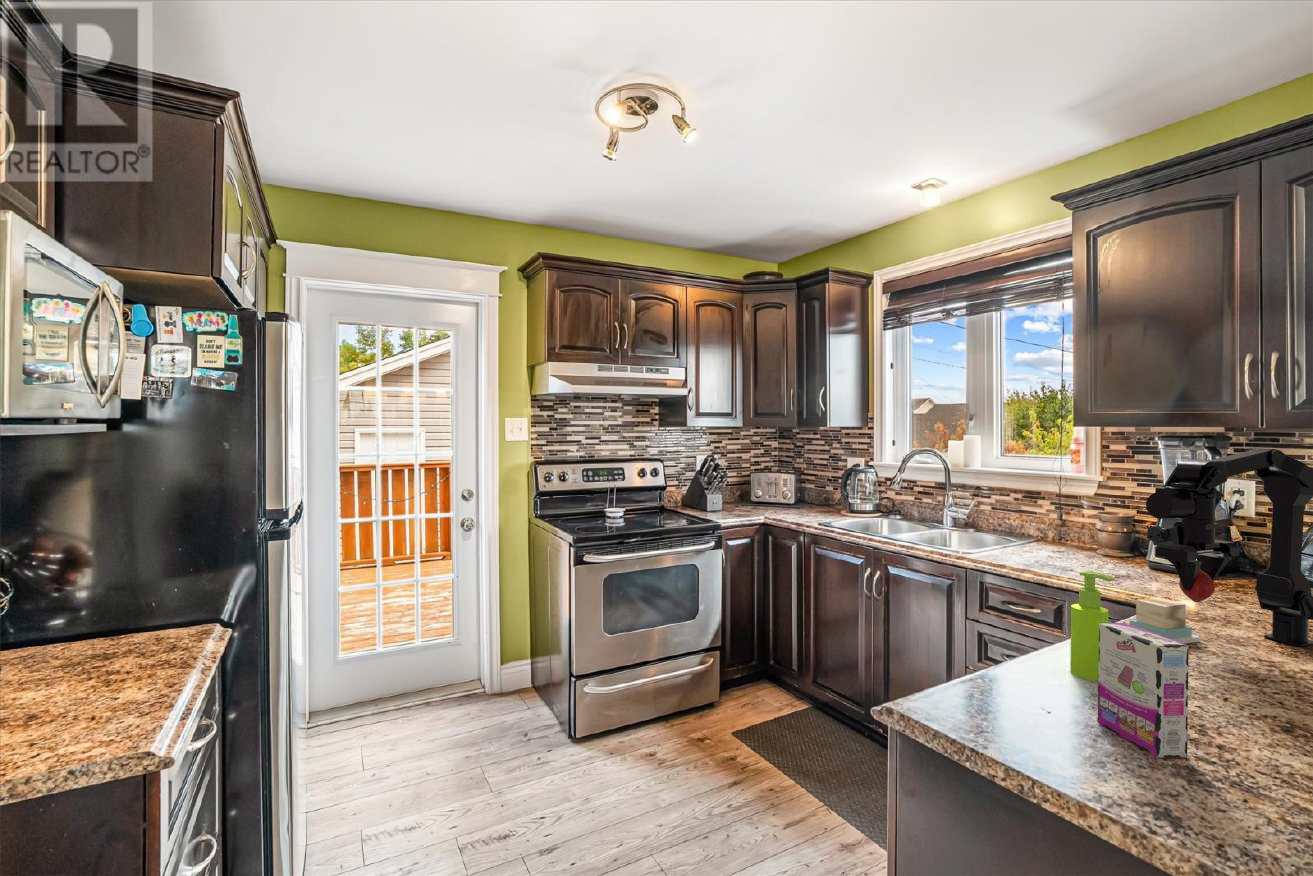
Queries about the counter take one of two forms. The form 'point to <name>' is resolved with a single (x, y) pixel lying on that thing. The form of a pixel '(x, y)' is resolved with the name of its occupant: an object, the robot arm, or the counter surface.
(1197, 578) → the onion
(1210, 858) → the counter surface
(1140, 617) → the maple block
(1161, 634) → the tower base
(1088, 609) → the soap dispenser
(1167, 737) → the candy bar box
